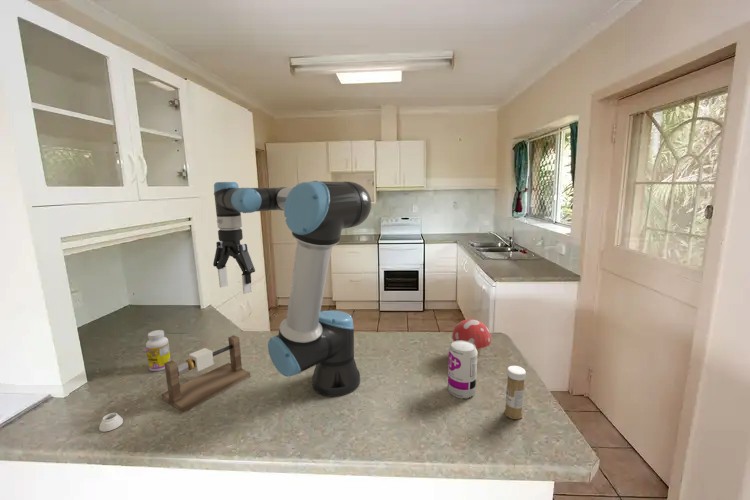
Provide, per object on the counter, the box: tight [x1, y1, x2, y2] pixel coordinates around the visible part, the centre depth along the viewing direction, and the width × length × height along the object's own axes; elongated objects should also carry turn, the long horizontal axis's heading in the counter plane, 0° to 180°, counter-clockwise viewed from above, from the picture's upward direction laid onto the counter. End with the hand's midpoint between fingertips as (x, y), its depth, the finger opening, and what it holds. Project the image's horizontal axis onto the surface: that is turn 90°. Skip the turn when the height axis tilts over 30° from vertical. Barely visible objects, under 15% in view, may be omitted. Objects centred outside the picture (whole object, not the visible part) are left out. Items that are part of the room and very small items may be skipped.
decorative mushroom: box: [451, 318, 492, 360], centre depth 122 cm, size 13×13×15 cm
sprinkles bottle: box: [504, 365, 527, 420], centre depth 92 cm, size 5×5×14 cm
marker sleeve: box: [188, 347, 215, 372], centre depth 105 cm, size 4×5×4 cm
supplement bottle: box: [145, 329, 172, 372], centre depth 119 cm, size 7×7×13 cm
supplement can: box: [447, 340, 478, 399], centre depth 103 cm, size 8×8×15 cm
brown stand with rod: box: [161, 335, 252, 414], centre depth 107 cm, size 12×22×13 cm, turn 146°
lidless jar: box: [98, 412, 124, 432], centre depth 91 cm, size 5×3×5 cm
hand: (235, 289), depth 119 cm, fingers open, 13 cm apart
